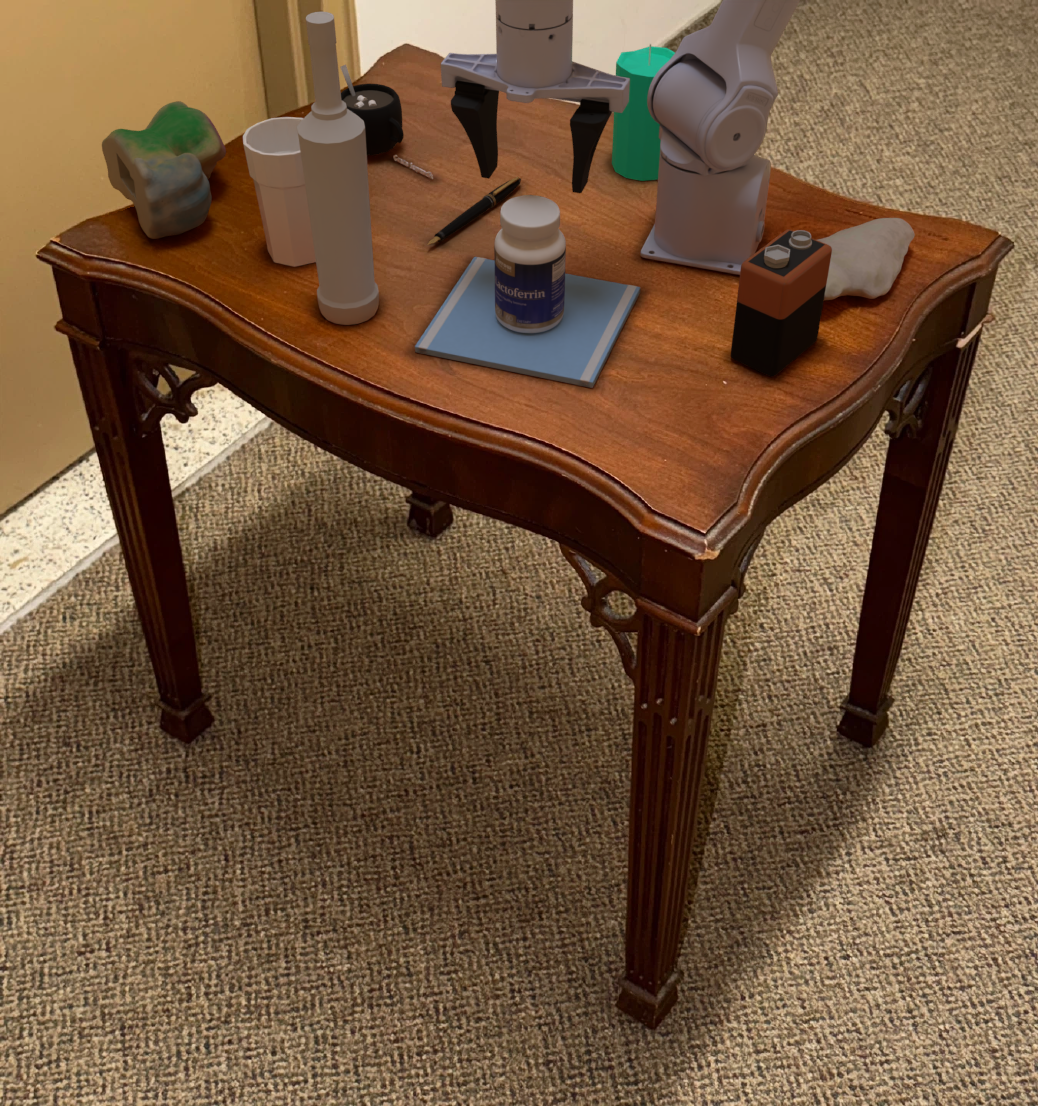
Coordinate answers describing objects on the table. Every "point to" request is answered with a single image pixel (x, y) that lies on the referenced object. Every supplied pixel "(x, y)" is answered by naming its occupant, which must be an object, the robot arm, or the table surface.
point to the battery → (780, 301)
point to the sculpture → (166, 168)
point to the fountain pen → (477, 209)
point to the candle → (638, 116)
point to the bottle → (337, 187)
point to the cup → (280, 189)
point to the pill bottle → (529, 265)
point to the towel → (552, 354)
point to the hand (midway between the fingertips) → (534, 179)
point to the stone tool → (867, 258)
